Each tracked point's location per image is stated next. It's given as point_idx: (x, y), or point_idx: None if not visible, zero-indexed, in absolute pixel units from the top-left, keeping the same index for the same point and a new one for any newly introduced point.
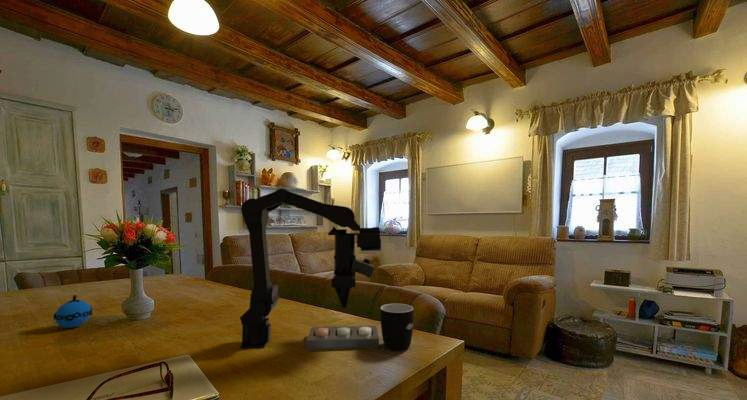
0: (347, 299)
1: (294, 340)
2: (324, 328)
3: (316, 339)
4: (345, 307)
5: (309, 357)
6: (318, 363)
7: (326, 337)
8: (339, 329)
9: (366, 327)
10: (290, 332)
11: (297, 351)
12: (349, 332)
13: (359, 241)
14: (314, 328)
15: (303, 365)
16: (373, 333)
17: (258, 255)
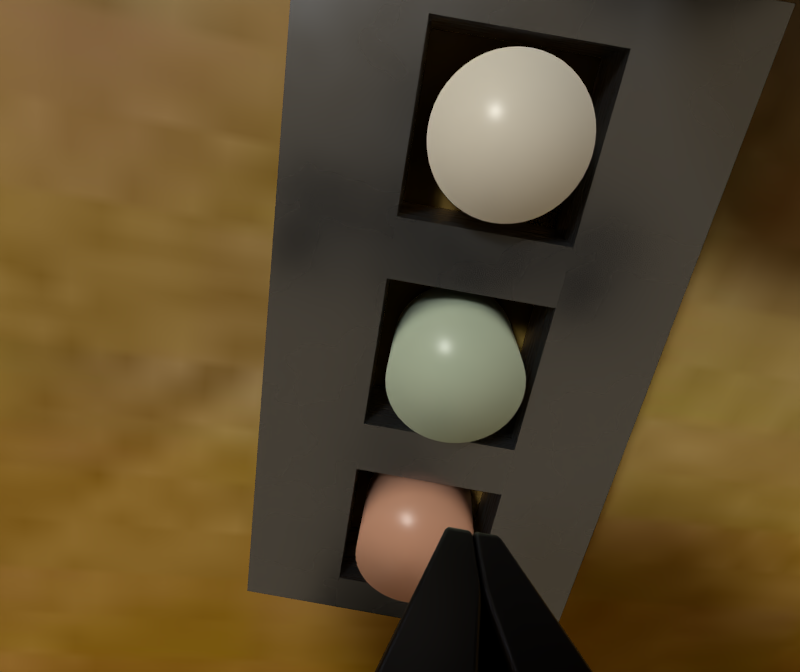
0: (585, 669)
1: (345, 633)
2: (381, 537)
3: (557, 586)
4: (498, 544)
5: (671, 578)
6: (794, 541)
7: (539, 519)
8: (444, 421)
9: (460, 108)
10: (186, 646)
11: None
12: (493, 320)
13: None
14: (288, 576)
15: (777, 613)
16: (590, 36)
17: None
